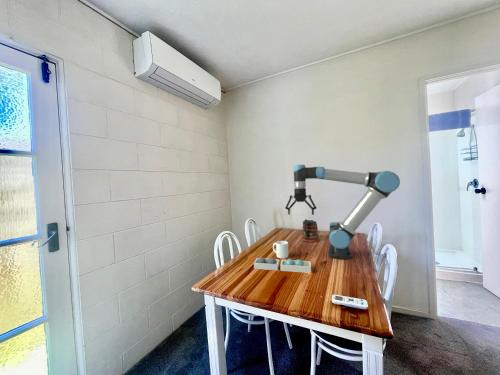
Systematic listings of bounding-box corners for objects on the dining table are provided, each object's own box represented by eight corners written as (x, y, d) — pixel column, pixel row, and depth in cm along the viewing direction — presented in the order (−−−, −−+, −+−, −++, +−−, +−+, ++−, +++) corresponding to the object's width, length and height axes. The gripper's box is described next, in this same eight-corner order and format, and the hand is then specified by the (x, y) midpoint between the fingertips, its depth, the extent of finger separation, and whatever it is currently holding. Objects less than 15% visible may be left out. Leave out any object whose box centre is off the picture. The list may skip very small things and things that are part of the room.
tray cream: (310, 267, 123) (310, 261, 123) (311, 274, 115) (310, 267, 115) (282, 265, 127) (281, 259, 127) (280, 271, 119) (280, 264, 119)
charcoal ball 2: (277, 265, 127) (276, 256, 126) (275, 269, 121) (275, 260, 121) (268, 264, 128) (268, 256, 128) (266, 268, 123) (266, 259, 122)
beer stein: (315, 244, 166) (315, 220, 165) (298, 242, 173) (297, 219, 172) (320, 238, 182) (320, 216, 181) (304, 236, 189) (303, 215, 189)
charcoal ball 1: (266, 264, 128) (266, 256, 128) (265, 268, 123) (264, 259, 123) (258, 264, 130) (258, 255, 129) (256, 267, 124) (256, 258, 124)
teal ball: (294, 266, 124) (294, 258, 124) (294, 270, 118) (294, 261, 118) (285, 266, 125) (285, 257, 125) (284, 269, 120) (284, 260, 120)
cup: (284, 260, 136) (284, 245, 136) (269, 256, 144) (269, 242, 144) (290, 256, 142) (290, 242, 142) (276, 252, 150) (275, 239, 150)
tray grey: (279, 265, 128) (278, 259, 127) (277, 271, 120) (277, 264, 120) (257, 264, 131) (256, 258, 131) (254, 269, 123) (253, 263, 123)
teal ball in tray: (306, 262, 122) (299, 256, 123) (306, 266, 117) (298, 259, 118) (300, 269, 123) (293, 262, 124) (299, 272, 118) (292, 265, 119)
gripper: (319, 187, 136) (320, 218, 137) (281, 188, 143) (282, 218, 143) (320, 187, 129) (321, 220, 130) (280, 188, 135) (281, 220, 136)
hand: (301, 219), depth 137 cm, fingers open, 13 cm apart
